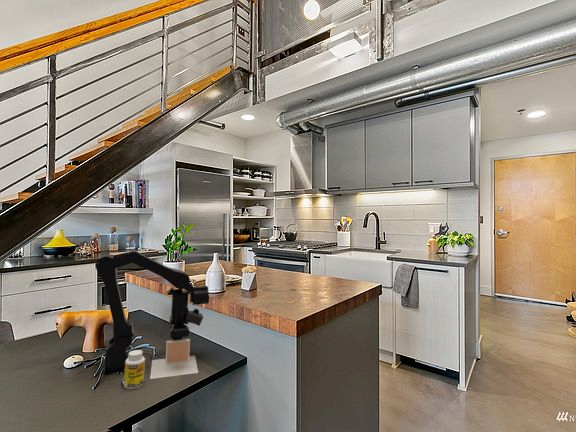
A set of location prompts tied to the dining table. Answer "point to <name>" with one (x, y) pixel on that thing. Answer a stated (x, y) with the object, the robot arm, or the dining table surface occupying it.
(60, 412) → the dining table surface
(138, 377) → the supplement bottle
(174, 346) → the tile
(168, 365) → the mat
